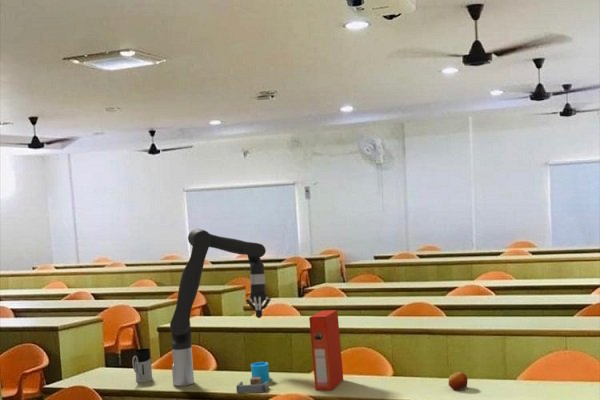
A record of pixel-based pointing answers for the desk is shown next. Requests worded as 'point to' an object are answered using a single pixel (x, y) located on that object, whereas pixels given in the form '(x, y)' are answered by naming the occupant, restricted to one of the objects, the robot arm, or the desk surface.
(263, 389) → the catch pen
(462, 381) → the fruit
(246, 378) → the desk surface
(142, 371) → the grey handled cylinder
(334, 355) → the file binder
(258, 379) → the tile
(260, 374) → the mug
